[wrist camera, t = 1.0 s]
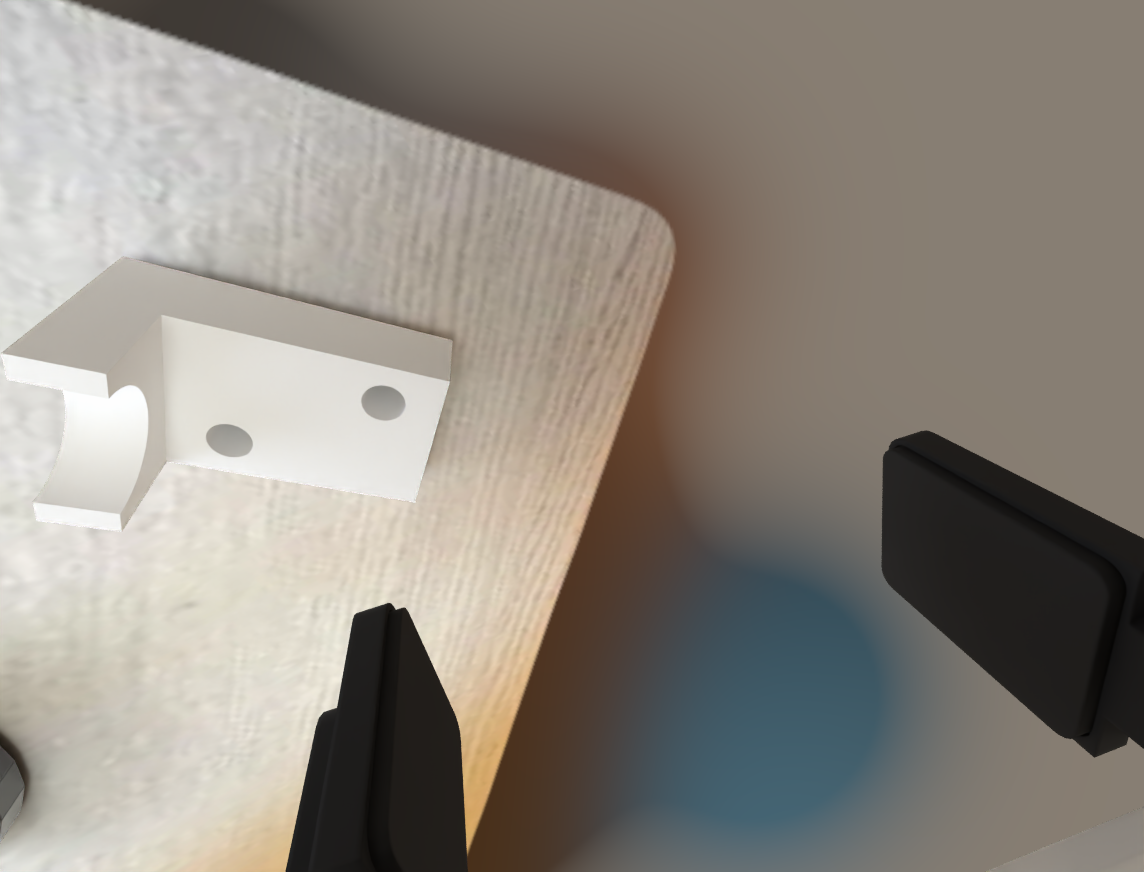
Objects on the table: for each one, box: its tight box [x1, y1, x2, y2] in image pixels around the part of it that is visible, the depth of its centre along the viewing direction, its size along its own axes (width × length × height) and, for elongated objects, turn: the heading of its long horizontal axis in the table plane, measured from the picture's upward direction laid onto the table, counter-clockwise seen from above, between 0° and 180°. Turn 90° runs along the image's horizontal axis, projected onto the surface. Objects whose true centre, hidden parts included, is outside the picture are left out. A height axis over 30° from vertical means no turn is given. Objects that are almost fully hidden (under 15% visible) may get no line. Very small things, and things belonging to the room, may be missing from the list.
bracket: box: [1, 256, 453, 532], centre depth 24 cm, size 13×7×8 cm, turn 72°
